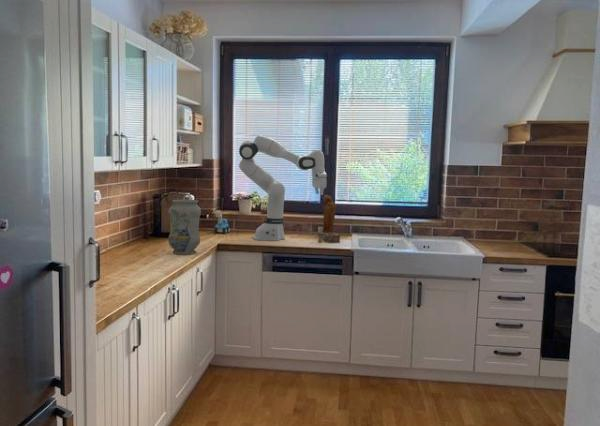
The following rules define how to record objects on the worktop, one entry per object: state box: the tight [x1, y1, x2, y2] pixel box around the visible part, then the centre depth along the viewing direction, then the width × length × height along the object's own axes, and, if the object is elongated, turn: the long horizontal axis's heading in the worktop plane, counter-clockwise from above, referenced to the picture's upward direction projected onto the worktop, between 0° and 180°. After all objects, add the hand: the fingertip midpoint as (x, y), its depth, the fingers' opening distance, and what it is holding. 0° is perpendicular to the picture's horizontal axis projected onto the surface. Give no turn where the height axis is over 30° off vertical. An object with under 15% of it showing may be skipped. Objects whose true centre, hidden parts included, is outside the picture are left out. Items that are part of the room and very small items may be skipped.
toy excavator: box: [214, 209, 231, 234], centre depth 356 cm, size 9×17×17 cm, turn 167°
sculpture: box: [322, 194, 338, 238], centre depth 355 cm, size 13×9×30 cm
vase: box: [167, 199, 202, 256], centre depth 279 cm, size 18×18×30 cm
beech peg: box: [317, 226, 324, 243], centre depth 333 cm, size 3×3×10 cm
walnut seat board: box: [322, 232, 341, 243], centre depth 337 cm, size 9×10×5 cm
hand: (319, 194), depth 339 cm, fingers open, 8 cm apart
